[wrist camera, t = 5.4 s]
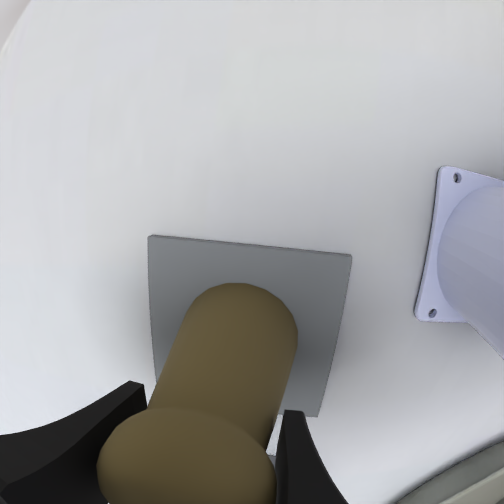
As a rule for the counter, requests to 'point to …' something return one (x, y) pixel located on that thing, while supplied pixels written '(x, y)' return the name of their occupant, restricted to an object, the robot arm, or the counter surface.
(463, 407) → the counter surface
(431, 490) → the cake pan
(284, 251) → the slate mat
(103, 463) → the cork
